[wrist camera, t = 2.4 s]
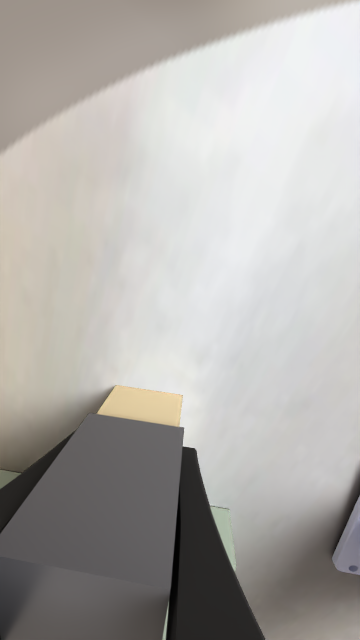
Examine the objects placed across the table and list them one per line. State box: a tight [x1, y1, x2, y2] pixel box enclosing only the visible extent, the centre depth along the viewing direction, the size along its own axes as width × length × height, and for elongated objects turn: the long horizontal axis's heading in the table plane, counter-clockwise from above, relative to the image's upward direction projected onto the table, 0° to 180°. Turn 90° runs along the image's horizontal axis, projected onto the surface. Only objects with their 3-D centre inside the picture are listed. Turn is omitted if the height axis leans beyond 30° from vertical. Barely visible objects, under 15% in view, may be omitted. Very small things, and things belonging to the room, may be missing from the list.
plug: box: [0, 385, 184, 640], centre depth 8 cm, size 4×4×7 cm
